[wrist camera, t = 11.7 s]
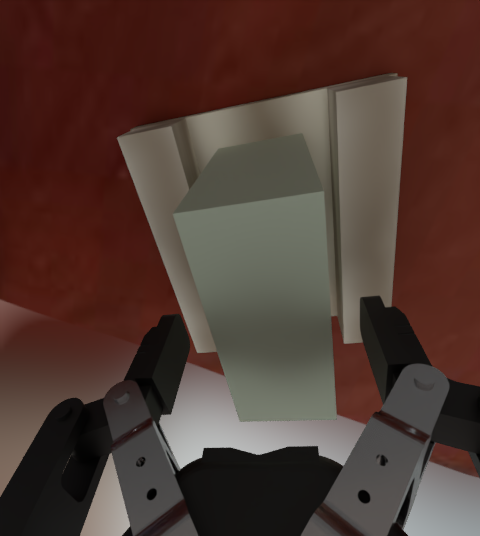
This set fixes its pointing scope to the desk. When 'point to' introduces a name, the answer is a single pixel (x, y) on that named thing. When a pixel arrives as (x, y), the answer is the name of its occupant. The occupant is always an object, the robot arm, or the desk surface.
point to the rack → (328, 169)
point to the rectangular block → (264, 276)
